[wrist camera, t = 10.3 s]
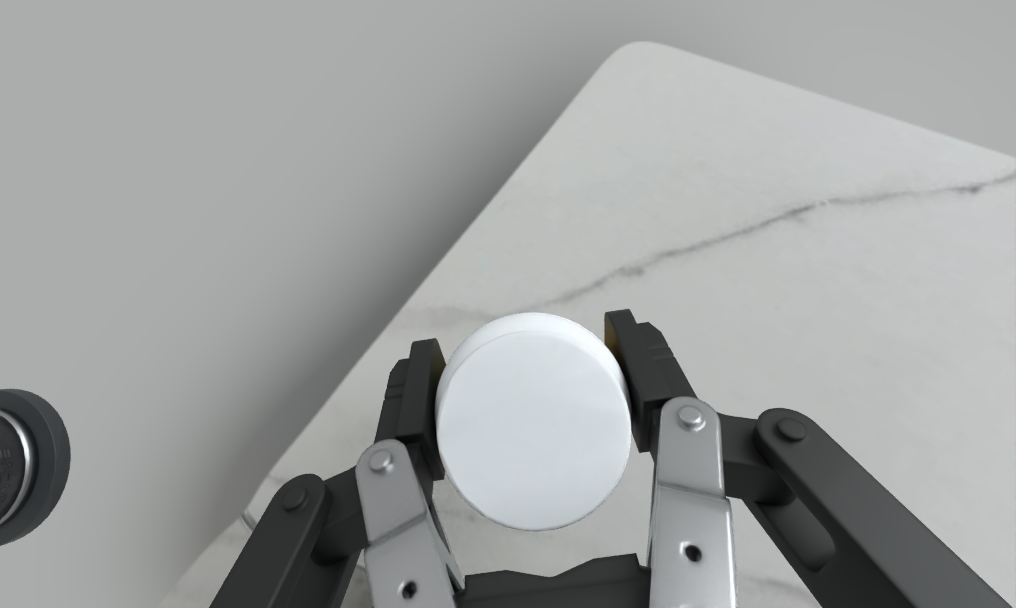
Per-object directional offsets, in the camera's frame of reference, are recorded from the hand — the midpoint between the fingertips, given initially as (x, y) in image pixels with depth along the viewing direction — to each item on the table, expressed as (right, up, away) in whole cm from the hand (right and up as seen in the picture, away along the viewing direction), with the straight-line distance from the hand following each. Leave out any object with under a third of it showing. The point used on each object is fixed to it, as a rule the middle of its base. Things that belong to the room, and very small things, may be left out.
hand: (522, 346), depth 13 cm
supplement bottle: (+1, -2, +5) cm, 5 cm away
